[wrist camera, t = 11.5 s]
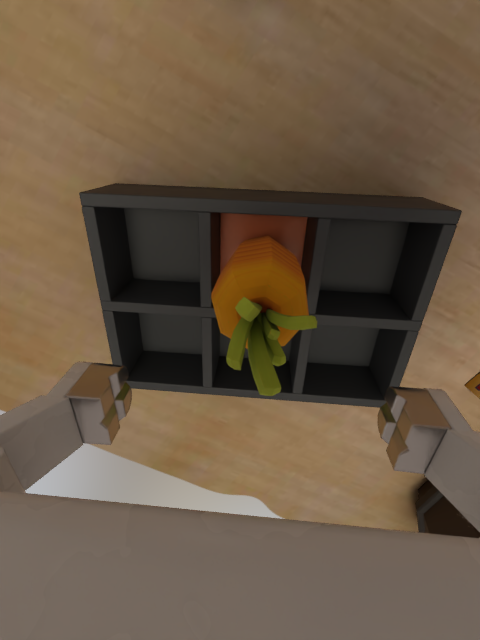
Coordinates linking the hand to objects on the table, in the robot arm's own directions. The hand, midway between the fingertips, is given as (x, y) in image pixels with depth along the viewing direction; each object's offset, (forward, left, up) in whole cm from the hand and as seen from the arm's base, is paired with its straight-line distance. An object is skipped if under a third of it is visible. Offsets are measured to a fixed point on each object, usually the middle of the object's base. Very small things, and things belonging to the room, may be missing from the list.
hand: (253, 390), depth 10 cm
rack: (+4, 0, -18) cm, 18 cm away
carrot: (0, 0, -17) cm, 17 cm away
